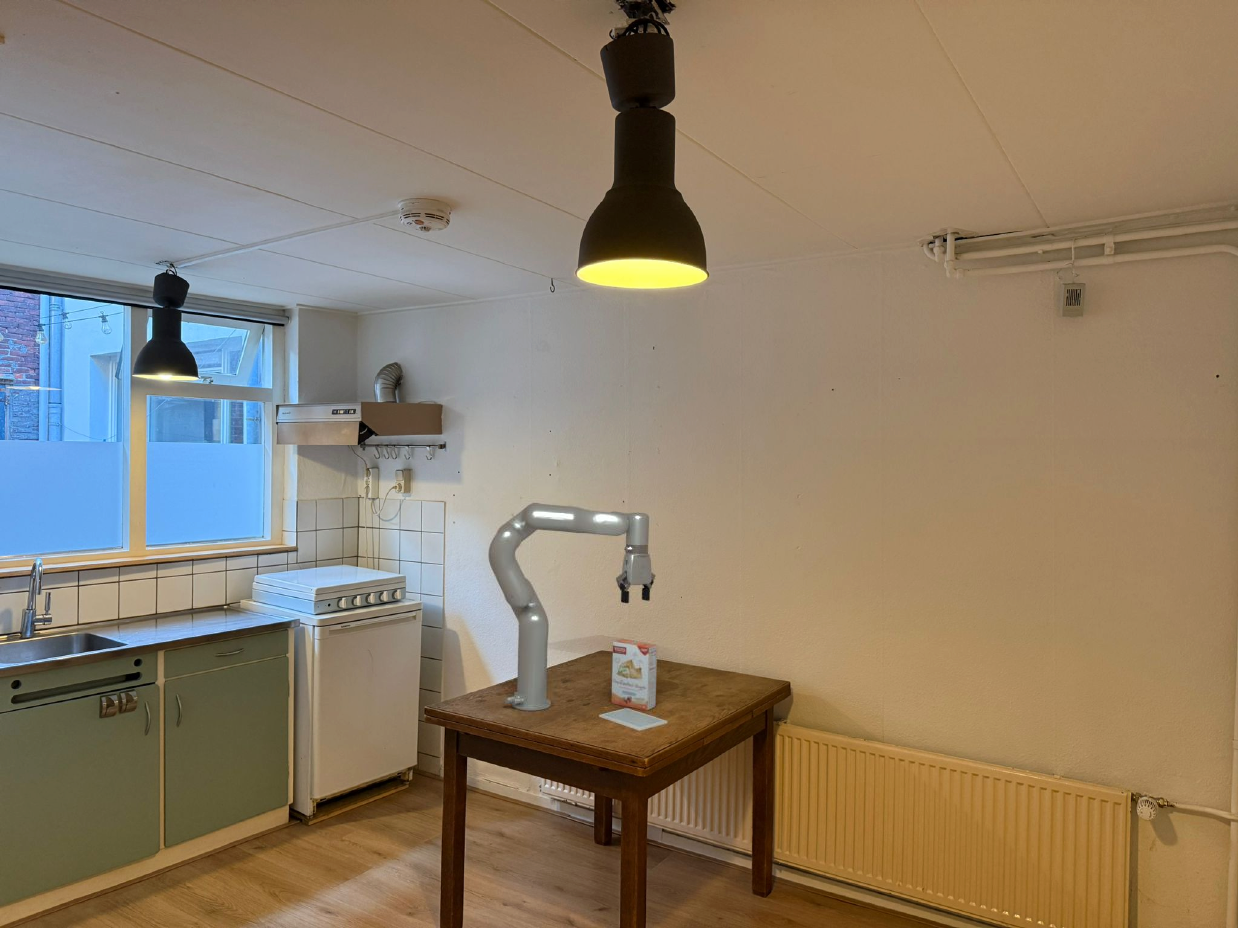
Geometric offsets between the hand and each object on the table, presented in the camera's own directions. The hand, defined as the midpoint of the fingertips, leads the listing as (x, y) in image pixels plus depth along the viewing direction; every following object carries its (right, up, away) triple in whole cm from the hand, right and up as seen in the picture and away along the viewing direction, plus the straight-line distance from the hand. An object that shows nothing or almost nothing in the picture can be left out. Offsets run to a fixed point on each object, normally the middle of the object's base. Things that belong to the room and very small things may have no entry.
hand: (635, 601), depth 274 cm
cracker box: (-1, -34, -2) cm, 34 cm away
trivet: (-1, -34, -18) cm, 38 cm away
